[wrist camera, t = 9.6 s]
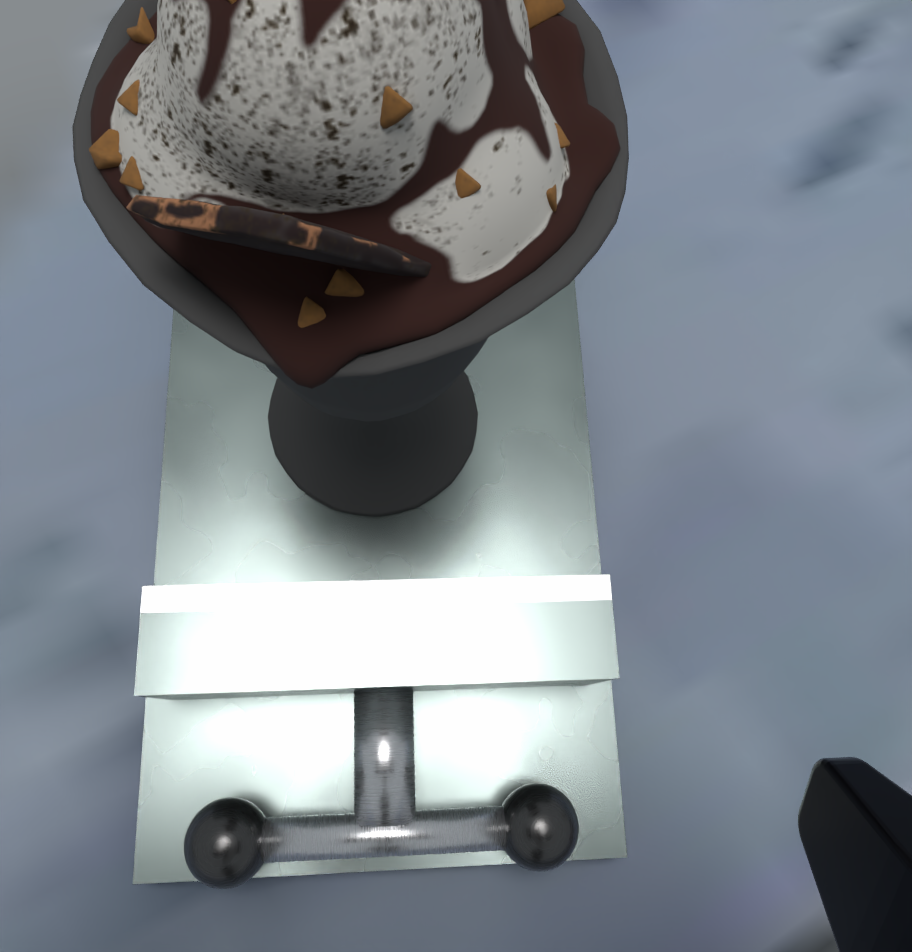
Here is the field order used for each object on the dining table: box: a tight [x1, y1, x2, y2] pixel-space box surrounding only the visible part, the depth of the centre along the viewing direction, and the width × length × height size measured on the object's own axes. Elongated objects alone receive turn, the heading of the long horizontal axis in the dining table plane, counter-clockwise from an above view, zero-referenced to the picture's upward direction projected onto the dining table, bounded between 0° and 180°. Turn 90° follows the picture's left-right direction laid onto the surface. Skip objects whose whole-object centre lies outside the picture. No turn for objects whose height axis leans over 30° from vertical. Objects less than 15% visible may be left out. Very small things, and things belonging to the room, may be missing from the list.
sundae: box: [73, 0, 629, 517], centre depth 12 cm, size 7×7×15 cm
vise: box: [133, 280, 627, 889], centre depth 18 cm, size 16×10×4 cm, turn 2°
